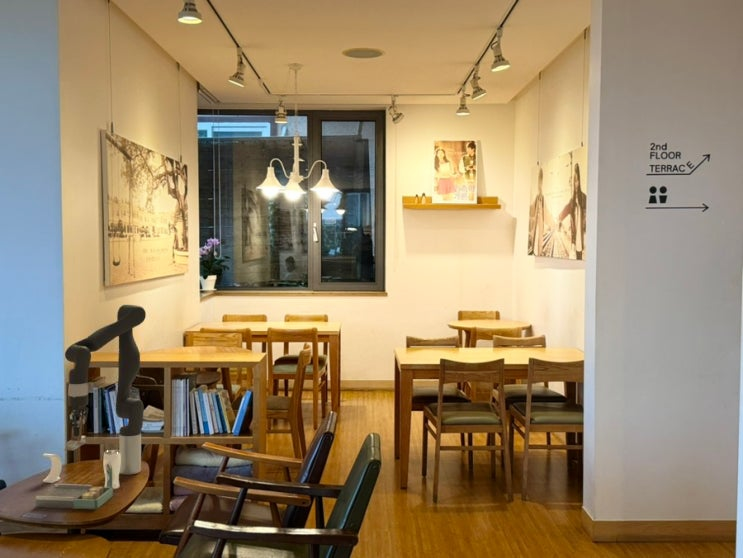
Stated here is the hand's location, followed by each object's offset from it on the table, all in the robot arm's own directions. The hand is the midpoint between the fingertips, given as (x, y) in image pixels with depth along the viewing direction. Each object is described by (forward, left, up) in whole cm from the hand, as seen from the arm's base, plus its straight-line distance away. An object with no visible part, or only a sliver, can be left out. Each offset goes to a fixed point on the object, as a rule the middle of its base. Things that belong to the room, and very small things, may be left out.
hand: (78, 434), depth 287 cm
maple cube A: (+11, +11, -20) cm, 26 cm away
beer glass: (-3, +13, -23) cm, 27 cm away
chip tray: (+14, +13, -23) cm, 30 cm away
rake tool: (0, -1, -5) cm, 5 cm away
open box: (+14, +1, -23) cm, 27 cm away
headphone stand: (-9, -16, -23) cm, 29 cm away
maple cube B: (+18, +11, -20) cm, 29 cm away
